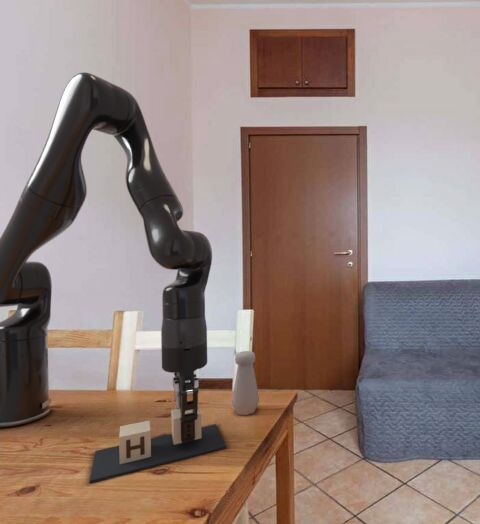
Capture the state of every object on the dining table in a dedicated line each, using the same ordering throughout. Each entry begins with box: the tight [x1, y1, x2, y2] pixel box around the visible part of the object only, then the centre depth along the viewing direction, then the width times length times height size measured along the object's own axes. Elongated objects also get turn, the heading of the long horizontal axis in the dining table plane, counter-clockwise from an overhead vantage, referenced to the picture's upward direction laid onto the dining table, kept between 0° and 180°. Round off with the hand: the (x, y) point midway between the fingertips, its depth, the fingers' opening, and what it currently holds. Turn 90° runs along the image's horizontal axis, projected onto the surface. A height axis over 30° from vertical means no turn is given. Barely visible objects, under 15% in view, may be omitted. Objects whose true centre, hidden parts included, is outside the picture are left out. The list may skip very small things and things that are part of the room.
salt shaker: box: [231, 350, 260, 416], centre depth 82 cm, size 6×6×13 cm
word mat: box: [88, 423, 227, 484], centre depth 65 cm, size 20×10×1 cm, turn 120°
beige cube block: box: [170, 406, 202, 445], centre depth 67 cm, size 4×5×4 cm
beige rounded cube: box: [118, 420, 152, 464], centre depth 63 cm, size 4×5×4 cm
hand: (186, 434), depth 67 cm, fingers closed on beige cube block, 4 cm apart
